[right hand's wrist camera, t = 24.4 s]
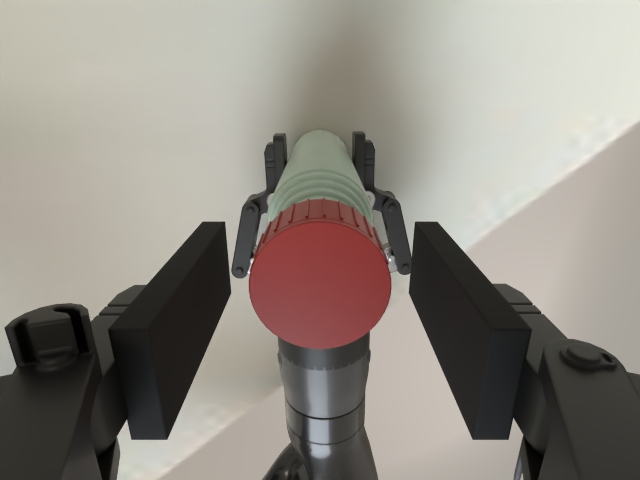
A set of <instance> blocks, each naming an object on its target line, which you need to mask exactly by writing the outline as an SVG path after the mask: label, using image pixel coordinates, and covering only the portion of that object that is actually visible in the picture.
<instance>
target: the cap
mask: <svg viewBox="0 0 640 480" xmlns="http://www.w3.org/2000/svg"><path fill="white" fill-rule="evenodd" d="M253 257H255V258H254V260H253V263H252V266H251V268H250V277H249V293H250V299H251V302H252V305H253V308H254V310H255V312H256V314H257V315H258V317H259V318H260V320H261V321H262V323H263V324H264V325H265V326H266V327H267V328H268V329H269V330H270V331H271V332H272V333H274V334H275V335H277V336H278V337H279V338H281V339H283V340H285V341H287V342H289V343H291V344H294V345H297V346H301V347H305V348H311V349H329V348H335V347H340V346H343V345H346V344H349V343H351V342H353V341H355V340H357V339H359V338H361V337H362V336H364V335H365V334H366V333H368V332H369V331H370V330H371V329H372V328H373V327H374V326H375V325H376V324H377V323H378V321H379V320H380V319H381V317H382V315H383V314H384V312H385V310H386V308H387V305H388V302H389V299H390V294H391V276H390V271H389V268H388V264H389V262H388V259H387V257H386V254H385V252H384V249H383V247H382V244H381V242H380V240H379V238H378V235H377V232H376V230H375V228H374V227H373V228H372V226H371V225H370V223H369V222H368V221H367V218H366V216H363V215H361V214H360V213H359V212H358V211H356V210H355V208H354V207H350V206H348V205H346V204H344V203H341V201H338V202H337V201H333V200H328V199H325V198H323V199H313V200H310V199H307V201H303V202H300V203H297V204H295V203H293V204H292V206H290V207H288V208H287V209H285V210H284V211H280V212H279V215H278V216H276V217H275V219H274V220H273V221H272V222H271V221H270V222H269V224H268V227H267V229H266V232H265V234H262V236H261V239H260V241H259V244H258V246H257V249H256V251H255V254H254V256H253Z"/></svg>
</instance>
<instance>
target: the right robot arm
mask: <svg viewBox="0 0 640 480" xmlns="http://www.w3.org/2000/svg"><path fill="white" fill-rule="evenodd" d="M230 294H231V286H230V274H229V263H228V251H227V240H226V228H225V222H202V223H201V224H200V225H199V227H198V228H197V229H196V230H195V231H194V232H193V233H192V235H191V236H190V237H189V238H188V239H187V240H186V241H185V242H184V244H183V245H182V246H181V247H180V248H179V249H178V250H177V252H176V253H175V254H174V255H173V256H172V257H171V258H170V259H169V261H168V262H167V263H166V264H165V265H164V266H163V267H162V268H161V270H160V271H159V272H158V273H157V274H156V275H155V276H154V278H153V279H152V280H151V281H150V282H149V283H148V284H147V285H134V286H132V287H130V288H128V289H127V290H125V291H123V292H121V293H119V294H118V295H117V296H116V297H115V298H114V299H113V300H112V301H111V302H110V303H109V304H108V307H105V308H104V309H103V310H102V311H101V312H100V313H99V316H96V317H95V318H94V319H93V320H92V321H91V322H90V318H89V314H88V309H87V308H85V307H84V306H82V305H78V304H72V303H68V304H55V305H51V306H46V307H41V308H38V309H36V310H33V311H30V312H27V313H25V314H23V315H21V316H19V317H18V318H16V319H14V320H12V321H11V322H10V323H9V324H8V325H7V326H6V327H5V331H6V334H7V337H8V340H9V344H10V347H11V350H12V353H13V356H14V359H15V362H16V365H17V367H16V369H15V370H14V372H13V374H11V375H6V376H0V480H117V473H118V466H119V459H120V449H119V443H118V439H117V435H118V433H119V432H120V430H121V428H122V427H123V425H124V423H125V421H126V420H127V421H128V426H129V430H130V435H131V440H167V439H168V437H169V434H170V432H171V430H172V427H173V425H174V423H175V421H176V418H177V416H178V414H179V411H180V409H181V407H182V405H183V402H184V400H185V398H186V395H187V393H188V391H189V388H190V386H191V384H192V382H193V379H194V377H195V375H196V372H197V370H198V368H199V366H200V363H201V361H202V359H203V356H204V354H205V352H206V349H207V347H208V345H209V343H210V340H211V338H212V336H213V333H214V331H215V329H216V327H217V324H218V322H219V320H220V317H221V315H222V313H223V310H224V308H225V306H226V304H227V301H228V299H229V297H230ZM409 294H410V297H411V299H412V301H413V304H414V306H415V308H416V310H417V313H418V315H419V317H420V320H421V322H422V324H423V326H424V329H425V331H426V333H427V336H428V338H429V340H430V343H431V345H432V347H433V349H434V352H435V354H436V356H437V359H438V361H439V363H440V365H441V368H442V370H443V372H444V375H445V377H446V379H447V381H448V384H449V386H450V388H451V391H452V393H453V395H454V398H455V400H456V402H457V405H458V407H459V409H460V411H461V414H462V416H463V418H464V421H465V423H466V425H467V427H468V430H469V432H470V434H471V437H472V439H473V440H508V439H509V435H510V430H511V425H512V421H513V418H514V419H515V421H516V423H517V424H518V426H519V428H520V429H521V431H522V433H523V439H522V443H521V447H520V452H519V456H518V460H517V465H516V469H515V474H514V480H520V478H521V474H522V473H523V479H524V480H640V375H639V374H634V373H629V372H627V371H626V370H625V368H624V366H623V365H622V364H621V363H620V361H619V360H618V359H617V358H616V357H615V356H613V355H612V354H610V353H609V352H607V351H606V350H604V349H602V348H599V347H597V346H595V345H592V344H590V343H587V342H583V341H579V340H575V339H568V338H567V337H566V336H565V335H564V334H563V333H562V332H561V331H560V330H559V329H558V328H557V327H556V326H555V325H554V324H553V323H552V322H551V321H550V320H549V319H548V318H547V317H546V316H545V315H544V314H541V311H540V310H539V309H538V308H537V307H536V306H535V305H533V304H532V302H531V301H530V300H529V299H528V298H527V297H526V296H525V295H524V294H523V293H522V292H520V291H518V290H516V289H514V288H513V287H511V286H509V285H507V284H492V283H491V282H490V281H489V280H488V279H487V278H486V276H485V275H484V274H483V273H482V272H481V271H480V270H479V269H478V267H477V266H476V265H475V264H474V263H473V262H472V261H471V259H470V258H469V257H468V256H467V255H466V254H465V253H464V252H463V250H462V249H461V248H460V247H459V246H458V245H457V244H456V242H455V241H454V240H453V239H452V238H451V237H450V236H449V235H448V233H447V232H446V231H445V230H444V229H443V228H442V227H441V225H440V224H439V223H438V222H415V228H414V240H413V251H412V263H411V274H410V286H409Z"/></svg>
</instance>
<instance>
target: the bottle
mask: <svg viewBox="0 0 640 480" xmlns="http://www.w3.org/2000/svg"><path fill="white" fill-rule="evenodd" d="M323 198H325V199H328V200H333V201H337V202H338V201H341V203H344V204H346V205H348V206H350V207H354V208H355V210H356V211H358V212H359V213H360V214H361V215H363V216H366V218H367V221H368V222H369V223H370V225H371V226H372V228H373V212H372V207H371V203H370V201H369V198H368V196H367V194H366V192H365V189H364V187H363V185H362V183H361V180H360V178H359V176H358V174H357V171H356V169H355V167H354V165H353V162H352V160H351V158H350V156H349V153H348V151H347V149H346V147H345V144H344V143H343V141H342V140H341V139H340V138H339V137H338V136H337V135H336V134H334V133H332V132H330V131H327V130H313V131H310V132H308V133H306V134H304V135H303V136H302V137H301V138H300V139H299V140H298V141H297V143H296V145H295V147H294V149H293V151H292V153H291V156H290V158H289V160H288V162H287V165H286V167H285V169H284V171H283V174H282V176H281V178H280V180H279V183H278V185H277V187H276V189H275V192H274V194H273V196H272V198H271V201H270V204H269V207H268V212H267V227H268V224H269V222H270V221H271V222H272V221H273V220H274V219H275V217H276V216H278V215H279V212H280V211H284V210H285V209H287V208H288V207H290V206H292V204H293V203H295V204H297V203H300V202H303V201H307V199H310V200H313V199H323Z"/></svg>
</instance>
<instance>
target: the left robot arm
mask: <svg viewBox="0 0 640 480" xmlns="http://www.w3.org/2000/svg"><path fill="white" fill-rule="evenodd" d="M264 155H265V169H266V184H267V189H266V190H265V191H264V192H261V193H259V194H253V195H251V196H250V197H249V198H248V200H247V201H246V203H245V204H244V206H243V207H242V212H241V218H240V223H239V229H238V235H237V241H236V246H235V252H234V258H233V264H232V269H231V271H232V274H233V275H234V276H235V277H236V278H244V277H245V276H246V275H247V274H250V268H251V266H252V263H253V260H254V258H255V257H253V256H254V254H255V251H256V249H257V245H256V240H257V234H258V229H259V224H260V219H261V214H263V213H266V212H268V207H269V204H270V201H271V198H272V196H273V194H274V192H275V189H276V187H277V185H278V183H279V180H280V178H281V176H282V174H283V171H284V169H285V167H286V165H287V144H286V133H277V134H275V135H274V136H273V142H269V143H268V144H267V146H266V149H265V152H264ZM352 162H353V165H354V167H355V169H356V171H357V174H358V176H359V178H360V180H361V183H362V185H363V187H364V189H365V192H366V194H367V196H368V198H369V201H370V203H371V207H372V209H374V210H377V211H380V212H381V213H382V217H383V221H384V225H385V230H386V234H387V238H388V242H389V243H386V244H384V245H383V246H382V247H383V249H384V252H385V254H386V257H387V259H388V262H389V264H388V268H389V271H390V273H391V272H395V271H398V272H399V273H400V274H402V275H407V274H409V273H411V263H412V257H411V252H410V248H409V243H408V239H407V234H406V229H405V225H404V220H403V216H402V211H401V206H400V203H399V202H398V201H397V200H396V199H395V196H394V195H393V193H391V192H389V191H385V192H384V191H382V190H379V189H376V188H375V187H374V163H375V149H374V146H373V143H372V142H371V141H370V140H365V133H364V132H363V131H357V132H353V138H352ZM369 340H370V331H369V332H368V333H366V334H365V335H364V336H362V337H361V338H359V339H357V340H355V341H353V342H351V343H349V344H346V345H343V346H340V347H335V348H329V349H311V348H305V347H301V346H297V345H294V344H291V343H289V342H287V341H285V340H283V339H281V338H279V337H278V345H279V350H278V361H279V363H280V372H281V377H282V382H283V386H284V391H285V406H286V420H287V429H288V433H289V437H290V439H291V443H290V444H289V445H288V446H287V447H286V448H285V449H284V450H283V451H282V453H281V454H280V455H279V457H278V458H277V459H276V461H275V462H274V464H273V465H272V466H271V468H270V469H269V471H268V472H267V473H266V475H265V476H264V478H263V479H262V480H378V476H377V471H376V467H375V463H374V459H373V455H372V451H371V447H370V443H369V440H368V437H367V434H366V431H365V428H364V415H365V387H366V382H367V377H368V370H369V362H370V349H369Z"/></svg>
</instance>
